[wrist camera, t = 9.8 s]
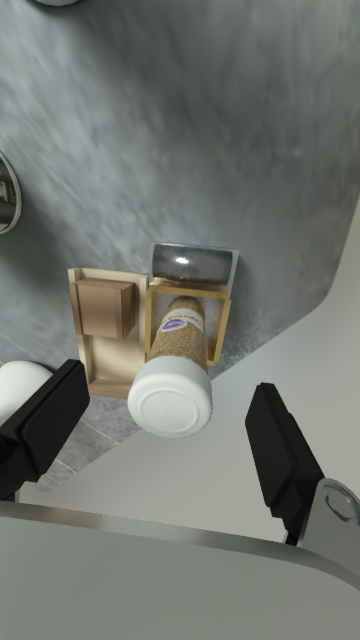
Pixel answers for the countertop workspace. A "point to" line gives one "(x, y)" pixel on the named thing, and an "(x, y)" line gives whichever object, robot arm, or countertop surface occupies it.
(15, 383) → the flower in vase
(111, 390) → the tray
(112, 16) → the countertop surface
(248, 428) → the robot arm
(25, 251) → the countertop surface
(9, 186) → the coffee can
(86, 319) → the tan cardboard box
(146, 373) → the sprinkles bottle
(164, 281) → the gold open box
